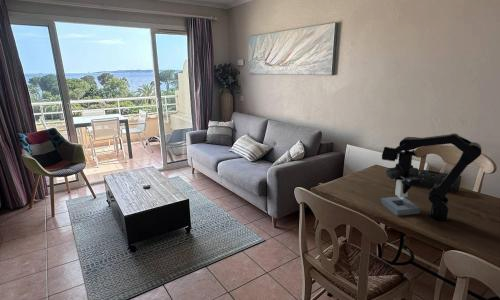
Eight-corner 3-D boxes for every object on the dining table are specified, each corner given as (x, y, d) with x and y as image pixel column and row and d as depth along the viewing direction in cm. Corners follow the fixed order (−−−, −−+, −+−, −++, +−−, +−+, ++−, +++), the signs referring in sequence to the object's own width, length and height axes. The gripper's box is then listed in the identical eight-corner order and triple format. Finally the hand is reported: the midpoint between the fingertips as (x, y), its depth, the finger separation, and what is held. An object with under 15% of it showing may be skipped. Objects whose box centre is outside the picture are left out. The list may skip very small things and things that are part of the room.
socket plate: (419, 213, 139) (420, 207, 138) (396, 215, 138) (397, 209, 137) (401, 201, 152) (402, 195, 151) (381, 203, 151) (381, 197, 150)
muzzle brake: (457, 195, 157) (460, 178, 154) (402, 184, 175) (404, 168, 172) (459, 189, 164) (462, 173, 161) (406, 179, 182) (407, 164, 179)
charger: (407, 196, 141) (409, 181, 139) (399, 197, 141) (401, 182, 139) (402, 193, 145) (404, 178, 143) (395, 194, 145) (396, 179, 143)
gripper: (379, 158, 147) (376, 186, 151) (401, 170, 129) (397, 201, 133) (399, 157, 148) (396, 184, 152) (423, 168, 130) (419, 199, 134)
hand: (401, 191), depth 142 cm, fingers closed on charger, 4 cm apart
